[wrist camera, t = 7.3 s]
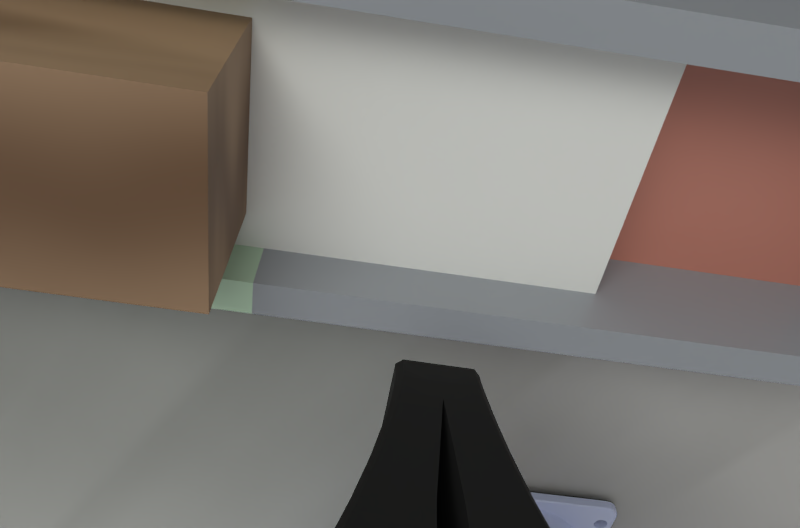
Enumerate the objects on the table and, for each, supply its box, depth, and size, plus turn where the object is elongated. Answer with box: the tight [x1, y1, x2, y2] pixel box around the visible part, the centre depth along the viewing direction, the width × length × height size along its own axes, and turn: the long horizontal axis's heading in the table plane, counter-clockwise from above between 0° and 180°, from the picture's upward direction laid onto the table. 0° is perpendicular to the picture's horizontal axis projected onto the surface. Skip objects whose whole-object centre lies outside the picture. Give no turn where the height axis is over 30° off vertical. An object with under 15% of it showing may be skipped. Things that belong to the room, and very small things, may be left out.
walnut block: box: [0, 0, 252, 314], centre depth 15 cm, size 5×6×4 cm
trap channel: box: [144, 0, 800, 386], centre depth 18 cm, size 12×32×4 cm, turn 81°
